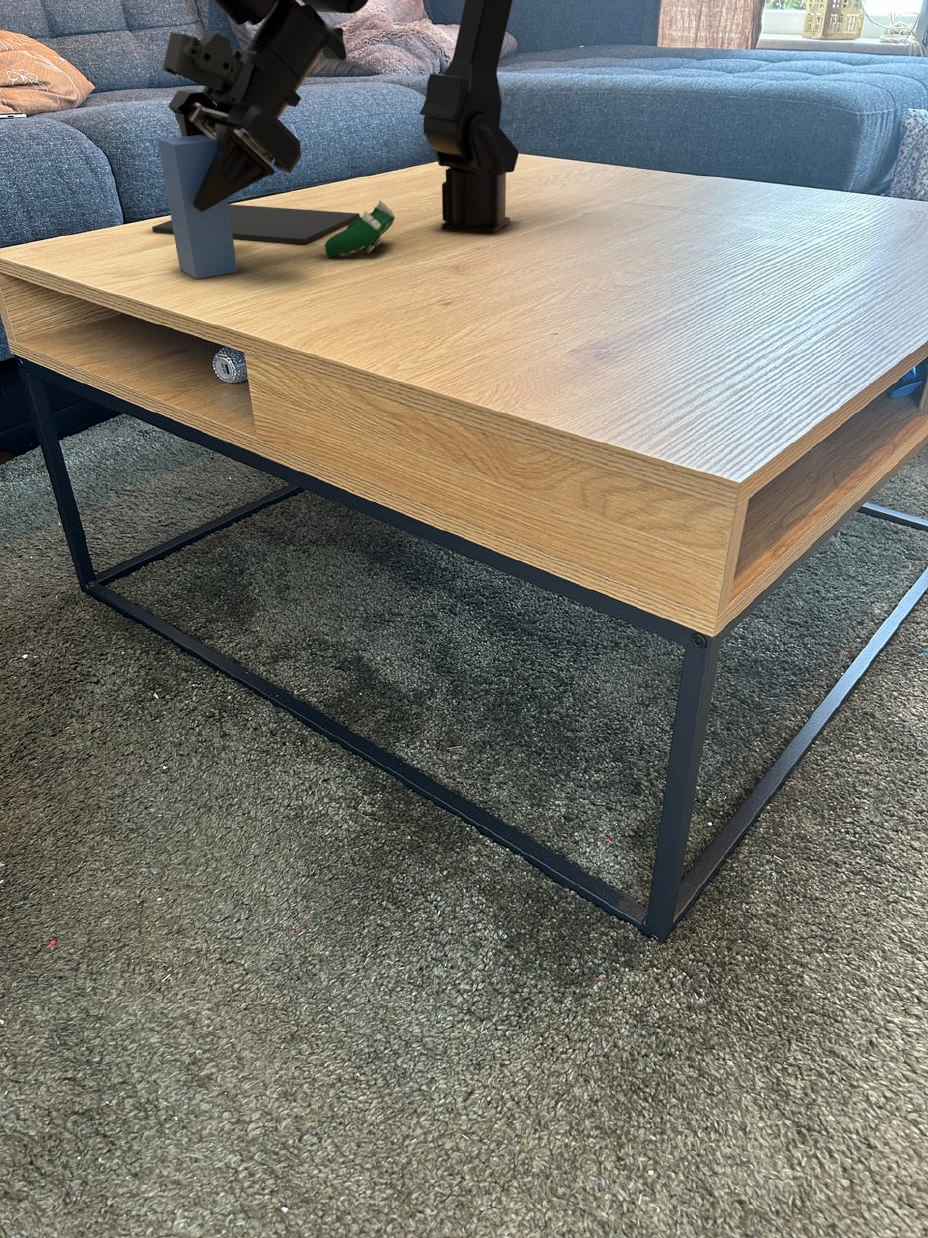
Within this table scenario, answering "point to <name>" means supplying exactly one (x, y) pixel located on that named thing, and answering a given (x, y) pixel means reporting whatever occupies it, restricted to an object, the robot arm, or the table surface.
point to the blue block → (196, 233)
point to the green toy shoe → (361, 232)
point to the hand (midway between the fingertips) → (184, 202)
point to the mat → (278, 223)
